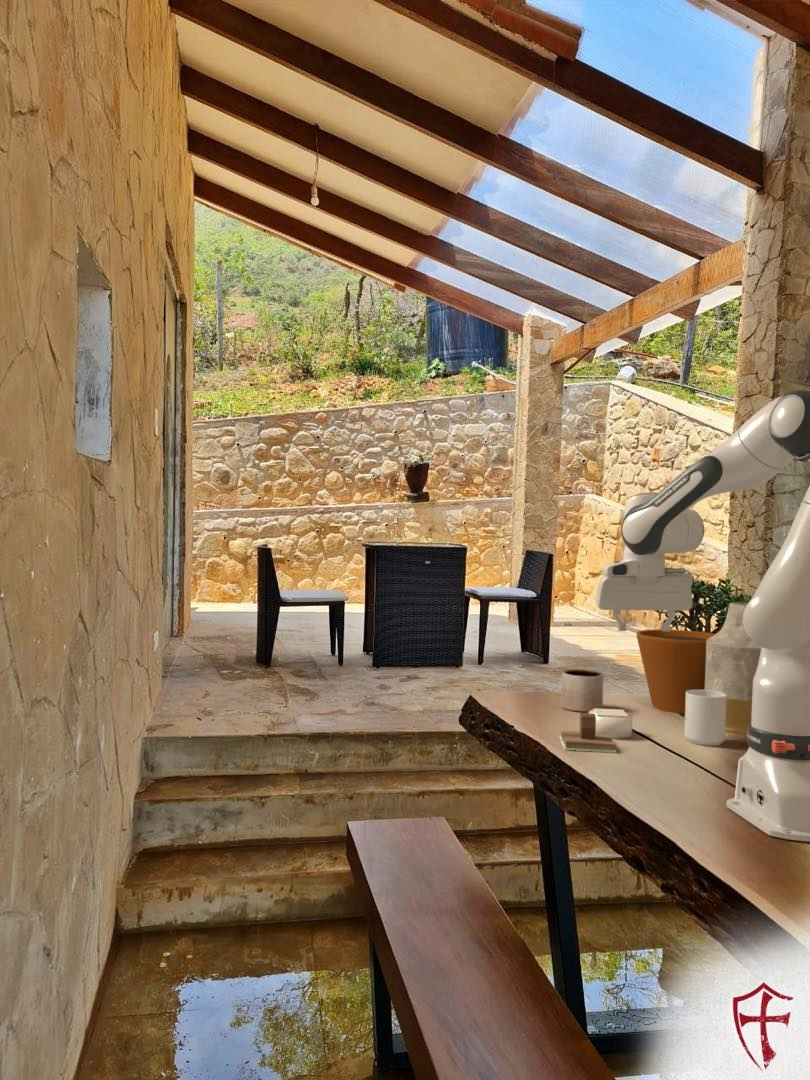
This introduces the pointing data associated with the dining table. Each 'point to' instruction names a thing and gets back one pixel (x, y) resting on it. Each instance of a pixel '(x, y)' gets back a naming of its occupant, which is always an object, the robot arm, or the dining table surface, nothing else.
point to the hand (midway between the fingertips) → (643, 631)
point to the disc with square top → (613, 722)
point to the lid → (587, 735)
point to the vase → (733, 668)
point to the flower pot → (673, 665)
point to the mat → (586, 749)
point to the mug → (705, 717)
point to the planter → (582, 690)
